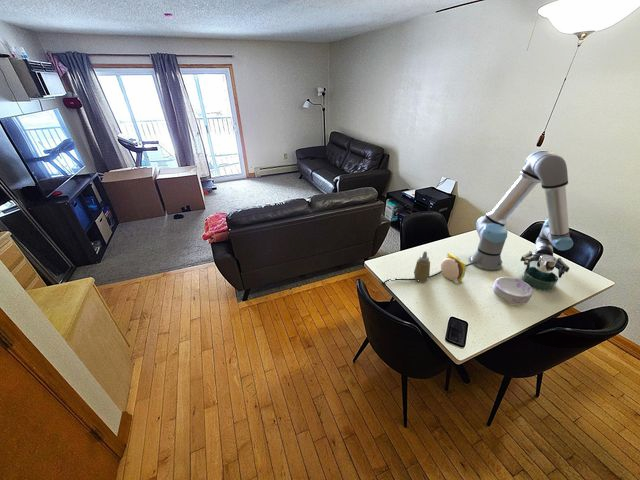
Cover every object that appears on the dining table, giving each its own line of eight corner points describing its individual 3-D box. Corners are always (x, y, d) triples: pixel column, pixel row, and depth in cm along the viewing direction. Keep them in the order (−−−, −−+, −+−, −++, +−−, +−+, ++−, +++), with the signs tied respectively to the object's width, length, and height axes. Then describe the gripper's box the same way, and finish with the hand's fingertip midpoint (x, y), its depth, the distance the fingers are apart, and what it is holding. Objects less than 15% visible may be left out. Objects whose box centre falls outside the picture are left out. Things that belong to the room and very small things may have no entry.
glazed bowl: (528, 289, 133) (532, 281, 131) (517, 274, 145) (520, 265, 142) (559, 292, 131) (564, 283, 128) (545, 276, 142) (549, 267, 139)
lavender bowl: (483, 292, 133) (487, 279, 130) (507, 285, 137) (512, 273, 133) (510, 312, 121) (515, 299, 117) (535, 305, 124) (542, 292, 120)
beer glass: (549, 286, 134) (560, 262, 126) (533, 285, 135) (544, 261, 128) (542, 278, 140) (552, 254, 132) (527, 277, 141) (537, 253, 134)
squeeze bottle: (410, 279, 145) (414, 252, 136) (416, 273, 150) (421, 246, 141) (424, 285, 140) (429, 257, 131) (430, 278, 145) (436, 250, 136)
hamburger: (436, 273, 149) (439, 255, 143) (448, 269, 151) (452, 252, 146) (452, 285, 139) (456, 266, 133) (464, 281, 141) (469, 263, 136)
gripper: (570, 264, 141) (573, 285, 126) (515, 251, 154) (512, 269, 139) (576, 252, 137) (579, 273, 122) (519, 240, 150) (516, 258, 135)
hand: (543, 271), depth 131 cm, fingers open, 12 cm apart
